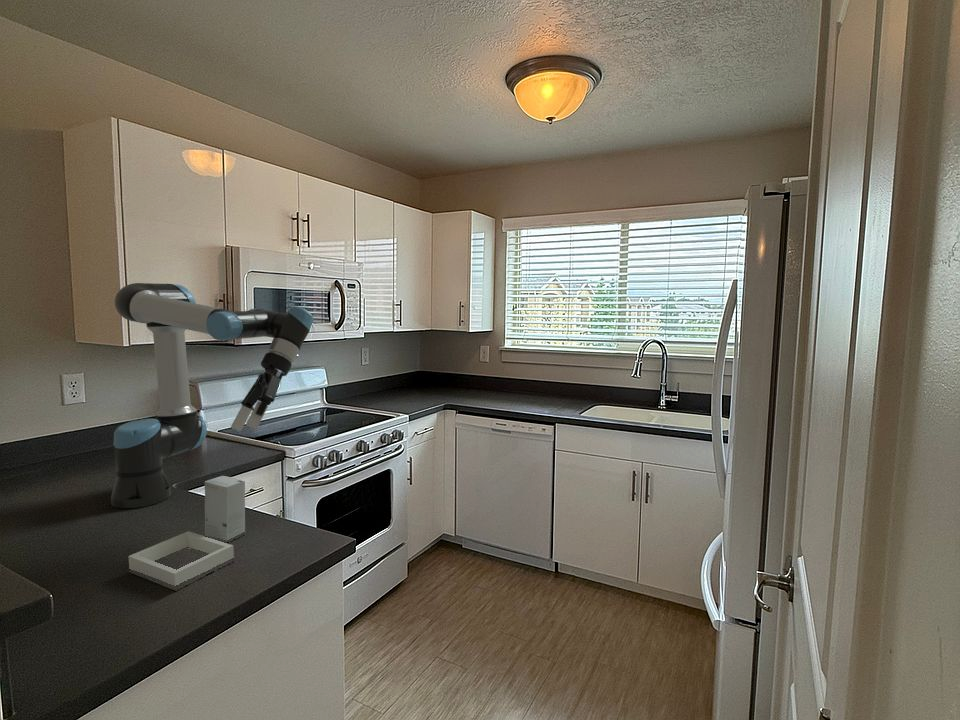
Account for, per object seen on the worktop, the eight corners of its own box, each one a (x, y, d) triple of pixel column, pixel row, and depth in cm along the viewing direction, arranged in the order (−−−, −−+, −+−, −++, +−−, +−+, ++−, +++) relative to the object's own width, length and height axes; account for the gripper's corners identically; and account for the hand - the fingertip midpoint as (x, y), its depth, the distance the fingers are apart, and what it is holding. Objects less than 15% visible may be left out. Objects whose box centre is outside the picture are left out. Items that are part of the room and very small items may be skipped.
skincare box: (204, 538, 133) (201, 481, 131) (224, 528, 138) (222, 474, 136) (228, 544, 129) (225, 486, 127) (248, 534, 135) (245, 479, 133)
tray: (129, 573, 115) (128, 556, 115) (189, 546, 128) (188, 531, 127) (175, 591, 108) (174, 573, 108) (234, 561, 121) (233, 545, 120)
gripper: (309, 358, 137) (272, 432, 129) (276, 370, 156) (242, 435, 148) (283, 343, 134) (243, 419, 125) (253, 358, 153) (216, 424, 144)
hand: (242, 428), depth 136 cm, fingers open, 13 cm apart
